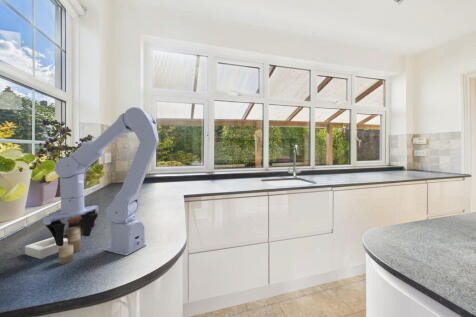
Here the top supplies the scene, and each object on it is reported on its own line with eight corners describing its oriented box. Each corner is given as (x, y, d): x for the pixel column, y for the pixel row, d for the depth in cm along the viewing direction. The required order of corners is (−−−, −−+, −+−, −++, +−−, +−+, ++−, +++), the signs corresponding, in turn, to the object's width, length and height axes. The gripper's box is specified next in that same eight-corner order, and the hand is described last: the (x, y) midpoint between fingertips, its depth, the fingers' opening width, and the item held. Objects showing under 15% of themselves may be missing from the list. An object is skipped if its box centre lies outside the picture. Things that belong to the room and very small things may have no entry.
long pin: (83, 249, 67) (82, 227, 66) (72, 253, 64) (71, 230, 64) (76, 247, 68) (76, 225, 68) (65, 251, 65) (64, 229, 65)
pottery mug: (57, 236, 79) (64, 214, 83) (82, 239, 86) (88, 218, 90) (78, 232, 75) (84, 208, 79) (103, 235, 82) (107, 214, 86)
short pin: (76, 259, 60) (75, 245, 60) (63, 265, 57) (62, 250, 57) (69, 257, 61) (68, 243, 61) (56, 262, 58) (55, 248, 58)
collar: (71, 247, 68) (70, 239, 68) (40, 259, 61) (39, 250, 61) (56, 243, 71) (56, 236, 71) (25, 254, 64) (24, 246, 64)
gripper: (88, 192, 74) (89, 230, 74) (35, 200, 60) (37, 248, 61) (102, 193, 71) (103, 233, 71) (50, 202, 57) (51, 252, 58)
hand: (74, 240), depth 66 cm, fingers open, 7 cm apart
